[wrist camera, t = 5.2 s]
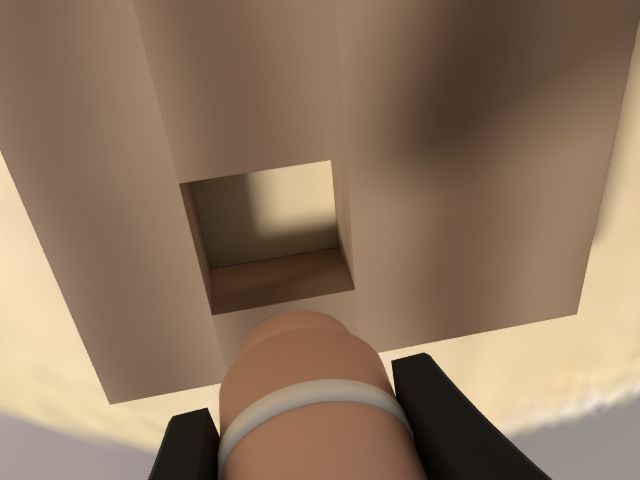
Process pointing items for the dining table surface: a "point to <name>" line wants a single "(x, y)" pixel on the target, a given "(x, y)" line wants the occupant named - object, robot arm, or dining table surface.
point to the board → (308, 147)
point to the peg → (312, 407)
